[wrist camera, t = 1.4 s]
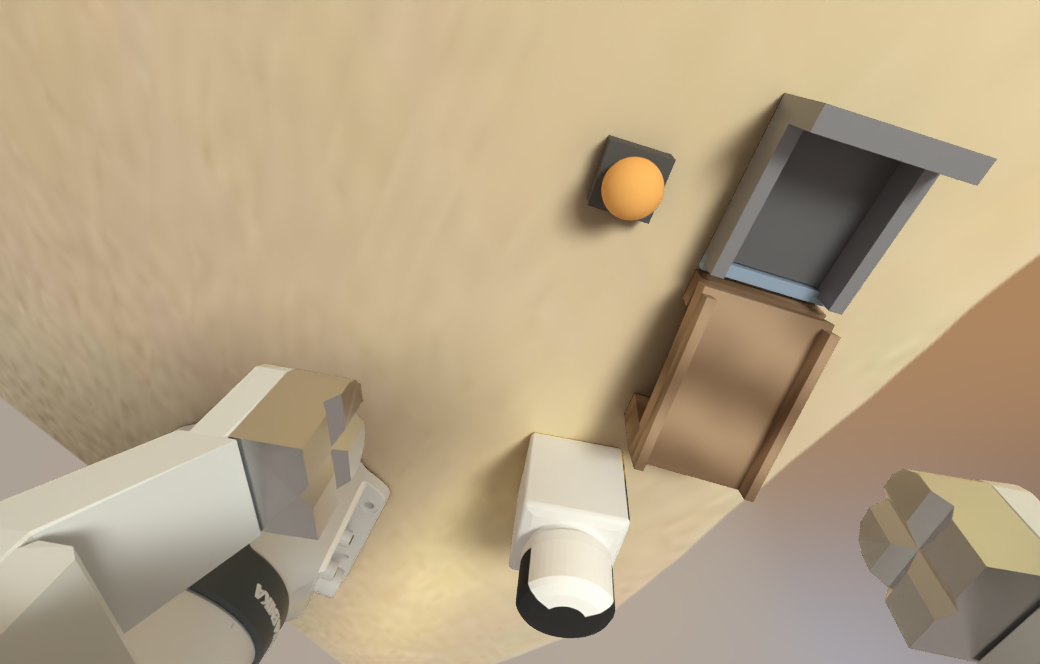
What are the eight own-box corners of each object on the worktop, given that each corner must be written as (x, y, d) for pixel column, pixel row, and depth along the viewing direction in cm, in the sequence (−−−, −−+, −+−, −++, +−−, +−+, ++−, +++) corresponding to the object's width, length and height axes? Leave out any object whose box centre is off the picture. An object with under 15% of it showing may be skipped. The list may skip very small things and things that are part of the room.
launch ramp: (726, 443, 37) (749, 506, 32) (624, 414, 37) (631, 473, 32) (817, 306, 31) (864, 357, 26) (696, 269, 31) (719, 314, 26)
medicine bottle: (601, 509, 42) (608, 661, 32) (517, 493, 42) (498, 639, 32) (623, 446, 39) (639, 595, 28) (531, 429, 39) (514, 571, 28)
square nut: (645, 215, 30) (648, 223, 28) (587, 197, 29) (587, 205, 28) (671, 154, 28) (675, 160, 27) (609, 135, 28) (610, 139, 26)
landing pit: (820, 302, 31) (859, 343, 27) (698, 265, 31) (718, 301, 26) (928, 139, 26) (997, 158, 22) (784, 92, 26) (825, 103, 21)
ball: (645, 217, 29) (653, 236, 26) (592, 201, 28) (593, 218, 26) (669, 161, 27) (679, 175, 24) (612, 143, 27) (616, 155, 24)
